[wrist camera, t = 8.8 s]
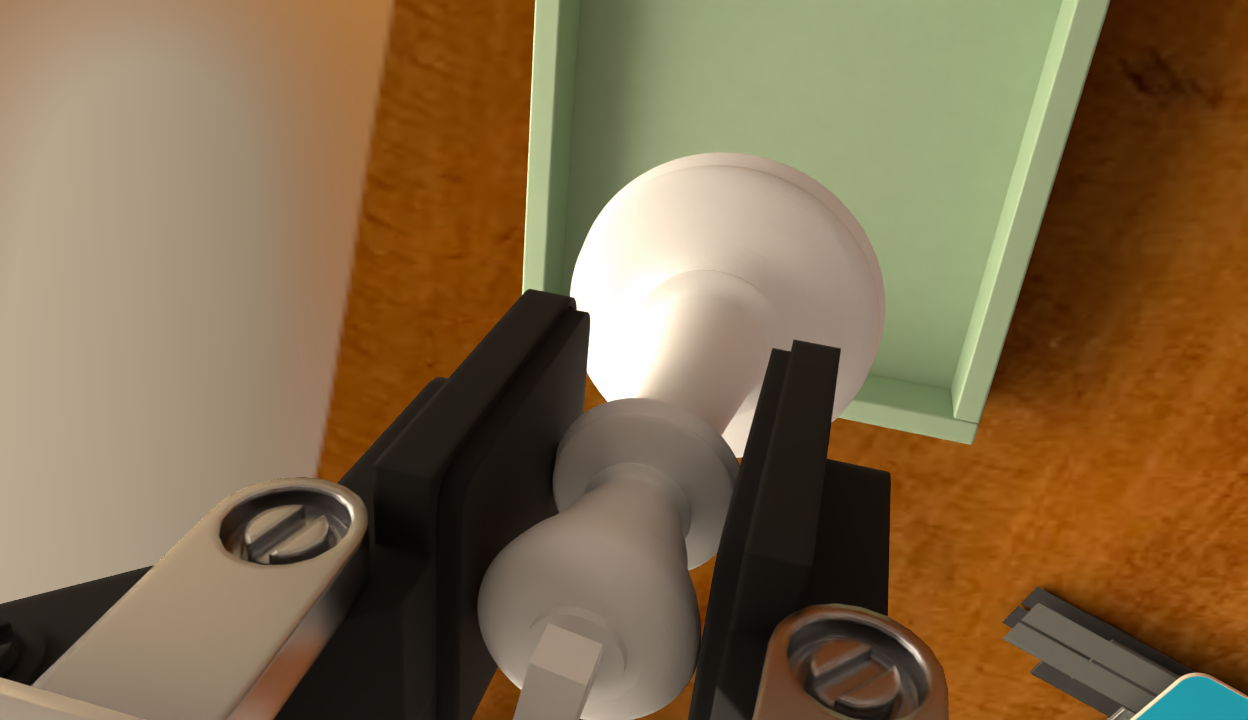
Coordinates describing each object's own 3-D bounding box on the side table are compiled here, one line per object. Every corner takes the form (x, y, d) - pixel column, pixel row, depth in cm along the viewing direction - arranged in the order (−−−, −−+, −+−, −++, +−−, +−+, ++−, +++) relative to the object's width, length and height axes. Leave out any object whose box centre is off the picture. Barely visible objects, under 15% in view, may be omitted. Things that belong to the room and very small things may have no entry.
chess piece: (548, 384, 17) (171, 898, 8) (618, 108, 15) (200, 401, 6) (820, 482, 16) (736, 1147, 8) (936, 212, 14) (1012, 709, 5)
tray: (570, -141, 21) (540, -142, 19) (1114, -83, 19) (1135, -77, 17) (544, 321, 26) (518, 353, 25) (967, 405, 24) (972, 446, 23)
